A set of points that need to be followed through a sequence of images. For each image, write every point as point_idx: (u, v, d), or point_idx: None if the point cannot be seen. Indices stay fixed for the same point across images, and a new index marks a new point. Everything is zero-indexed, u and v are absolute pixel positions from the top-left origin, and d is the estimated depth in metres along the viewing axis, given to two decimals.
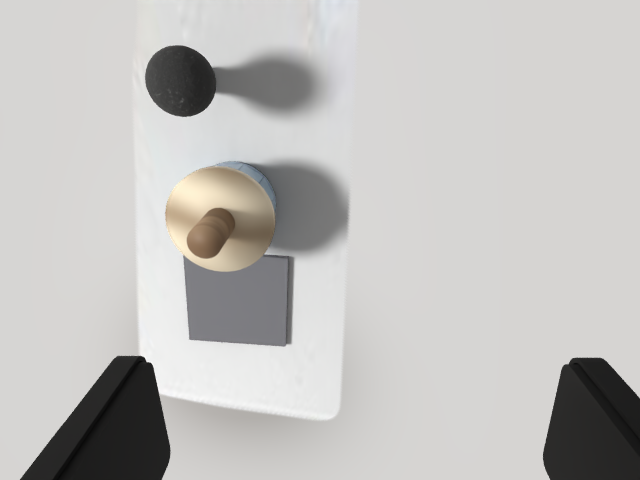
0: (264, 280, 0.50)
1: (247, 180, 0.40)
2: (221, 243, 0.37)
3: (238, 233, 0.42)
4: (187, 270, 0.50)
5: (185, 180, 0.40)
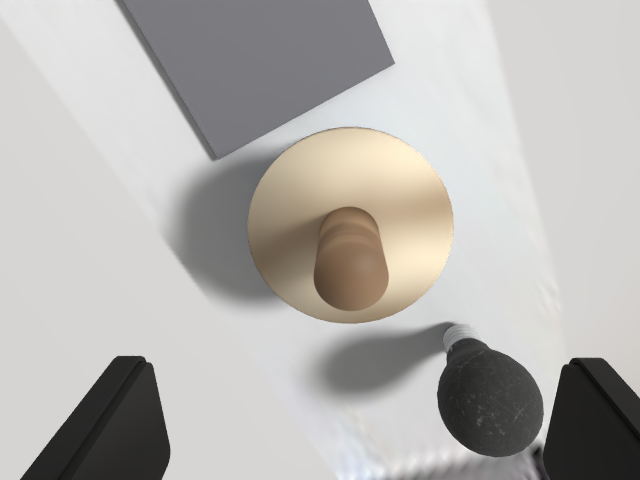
0: (229, 94, 0.26)
1: (339, 321, 0.24)
2: (318, 291, 0.18)
3: (308, 233, 0.22)
4: (371, 25, 0.24)
5: (435, 274, 0.22)
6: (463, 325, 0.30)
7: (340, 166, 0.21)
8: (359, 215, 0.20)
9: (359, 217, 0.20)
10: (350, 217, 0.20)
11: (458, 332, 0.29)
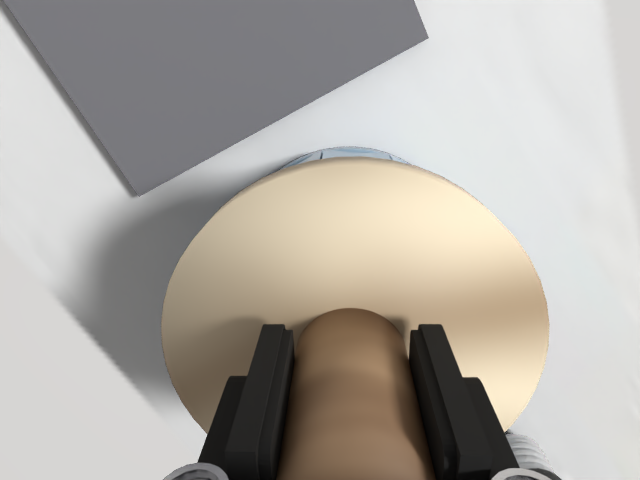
0: (149, 91, 0.15)
1: None
2: None
3: None
4: None
5: (506, 420, 0.12)
6: (520, 438, 0.20)
7: (334, 236, 0.10)
8: (371, 338, 0.10)
9: (372, 345, 0.10)
10: (355, 347, 0.10)
11: (515, 453, 0.19)
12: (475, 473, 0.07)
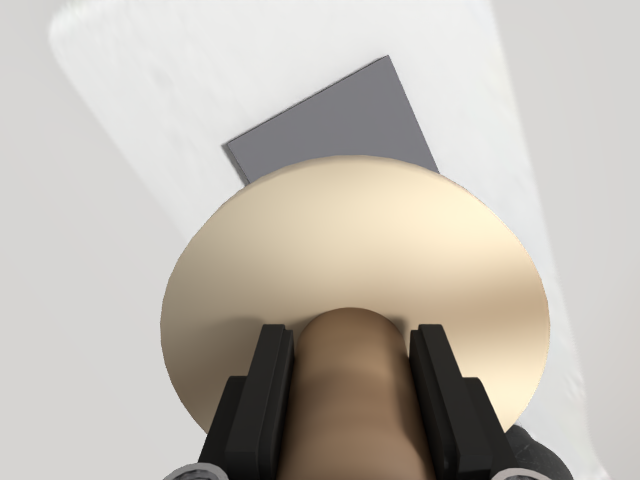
0: None
1: None
2: None
3: None
4: None
5: (507, 421, 0.12)
6: None
7: (334, 235, 0.10)
8: (372, 337, 0.10)
9: (372, 344, 0.10)
10: (354, 347, 0.10)
11: None
12: (475, 473, 0.07)
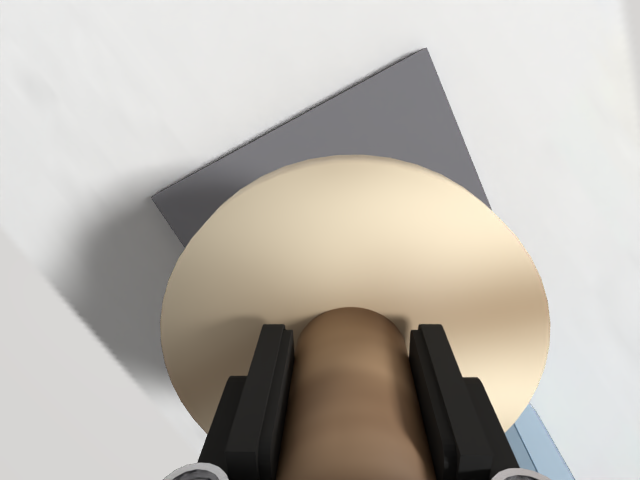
0: None
1: None
2: None
3: None
4: None
5: (507, 420, 0.12)
6: None
7: (334, 235, 0.10)
8: (372, 337, 0.10)
9: (372, 344, 0.10)
10: (354, 346, 0.10)
11: None
12: (475, 473, 0.07)
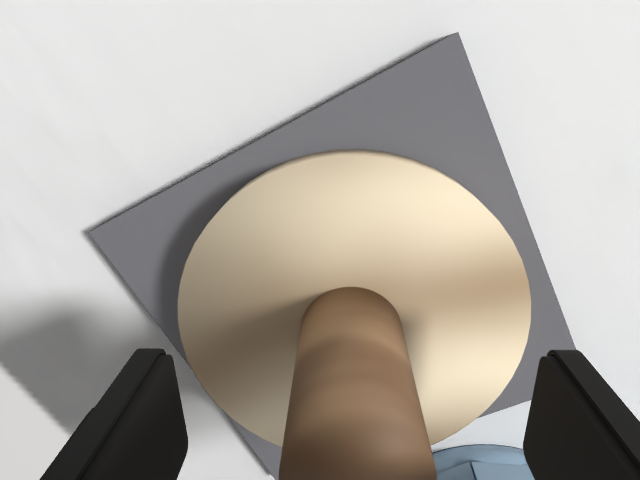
0: None
1: None
2: None
3: (282, 329, 0.13)
4: (556, 330, 0.14)
5: (494, 392, 0.13)
6: None
7: (336, 221, 0.12)
8: (369, 311, 0.11)
9: (370, 317, 0.11)
10: (354, 319, 0.11)
11: None
12: None
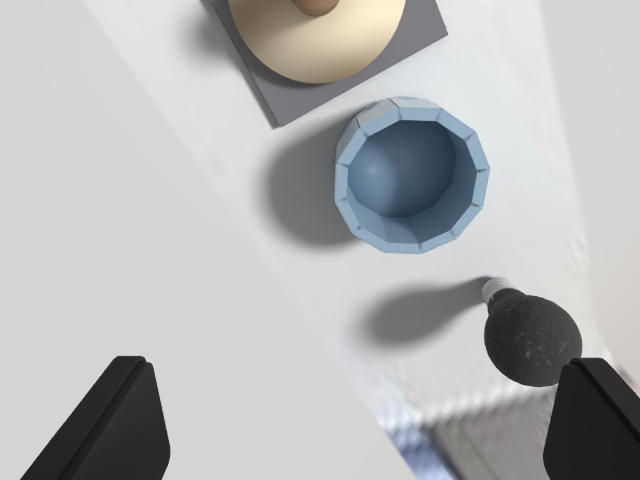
0: None
1: (310, 81, 0.27)
2: None
3: None
4: None
5: (393, 26, 0.25)
6: (501, 278, 0.33)
7: None
8: None
9: None
10: None
11: (497, 284, 0.32)
12: None
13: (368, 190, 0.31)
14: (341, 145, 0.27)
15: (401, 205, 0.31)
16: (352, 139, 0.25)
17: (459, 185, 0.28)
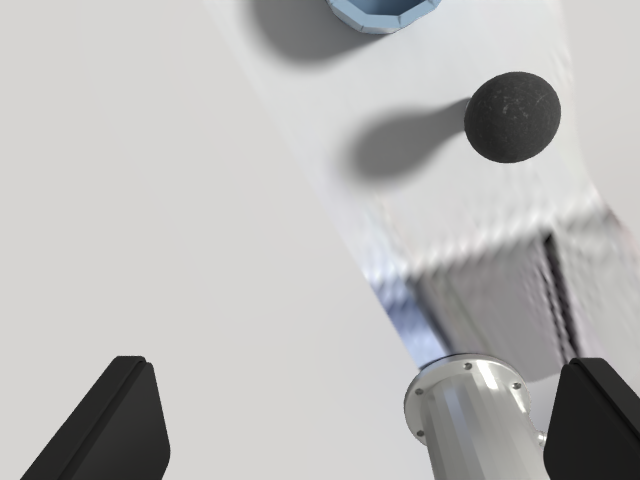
0: None
1: None
2: None
3: None
4: None
5: None
6: None
7: None
8: None
9: None
10: None
11: None
12: None
13: None
14: None
15: (384, 8, 0.31)
16: None
17: None
